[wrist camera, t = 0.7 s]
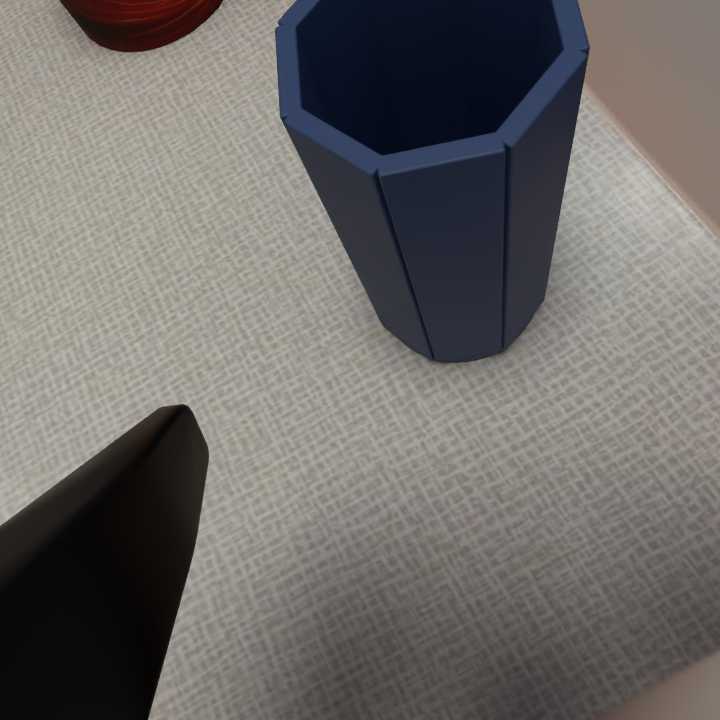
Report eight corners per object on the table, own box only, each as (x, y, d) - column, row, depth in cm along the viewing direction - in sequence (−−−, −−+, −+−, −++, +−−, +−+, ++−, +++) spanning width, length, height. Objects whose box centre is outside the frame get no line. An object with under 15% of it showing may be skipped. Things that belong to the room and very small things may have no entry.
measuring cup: (553, 349, 24) (612, 129, 12) (388, 373, 25) (283, 195, 13) (505, 107, 27) (511, -253, 15) (362, 137, 28) (262, -177, 16)
